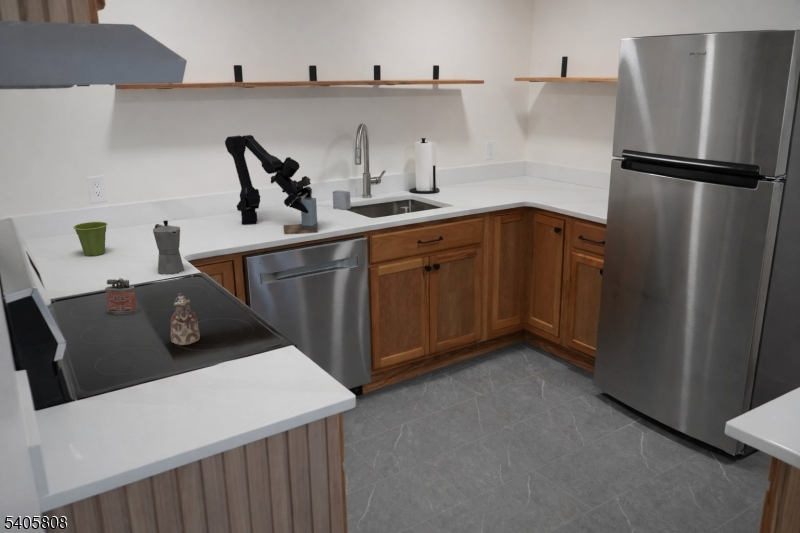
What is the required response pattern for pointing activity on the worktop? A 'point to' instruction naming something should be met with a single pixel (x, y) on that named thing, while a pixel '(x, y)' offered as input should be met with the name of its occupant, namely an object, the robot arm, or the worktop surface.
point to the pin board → (296, 229)
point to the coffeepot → (168, 248)
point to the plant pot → (92, 237)
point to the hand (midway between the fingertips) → (312, 210)
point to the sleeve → (309, 214)
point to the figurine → (184, 322)
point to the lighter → (120, 297)
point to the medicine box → (341, 200)
